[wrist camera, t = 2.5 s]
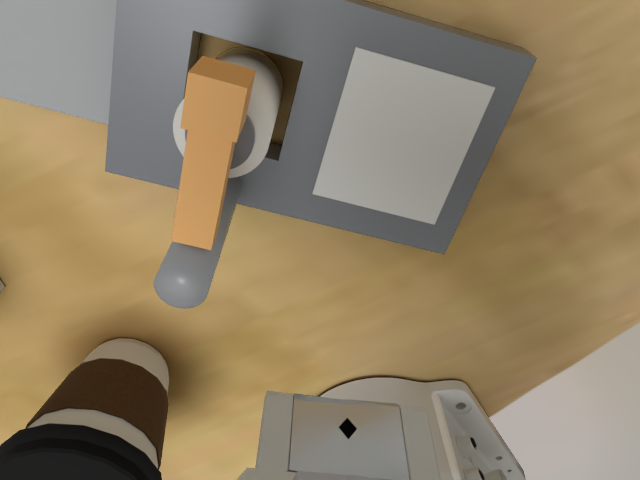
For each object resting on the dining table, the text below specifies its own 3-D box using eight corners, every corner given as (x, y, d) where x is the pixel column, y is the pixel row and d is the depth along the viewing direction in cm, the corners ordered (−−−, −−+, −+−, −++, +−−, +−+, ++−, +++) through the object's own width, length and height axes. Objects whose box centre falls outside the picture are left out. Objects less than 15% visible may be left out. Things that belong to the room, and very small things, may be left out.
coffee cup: (177, 307, 41) (126, 438, 31) (210, 405, 47) (177, 543, 37) (42, 320, 42) (-50, 451, 32) (91, 414, 48) (25, 551, 38)
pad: (133, -51, 29) (130, -51, 28) (119, 124, 34) (117, 126, 33) (-65, -110, 27) (-71, -110, 27) (-48, 81, 32) (-53, 83, 32)
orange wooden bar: (255, 70, 22) (247, 88, 20) (223, 228, 26) (213, 258, 24) (202, 55, 22) (188, 72, 20) (177, 217, 26) (163, 246, 23)
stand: (522, 47, 31) (630, 125, 20) (436, 237, 38) (481, 373, 26) (136, -68, 28) (10, -55, 17) (118, 158, 35) (19, 273, 24)
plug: (298, 89, 32) (289, 141, 25) (246, 138, 34) (223, 200, 27) (242, 29, 31) (214, 66, 23) (190, 84, 32) (149, 135, 25)
